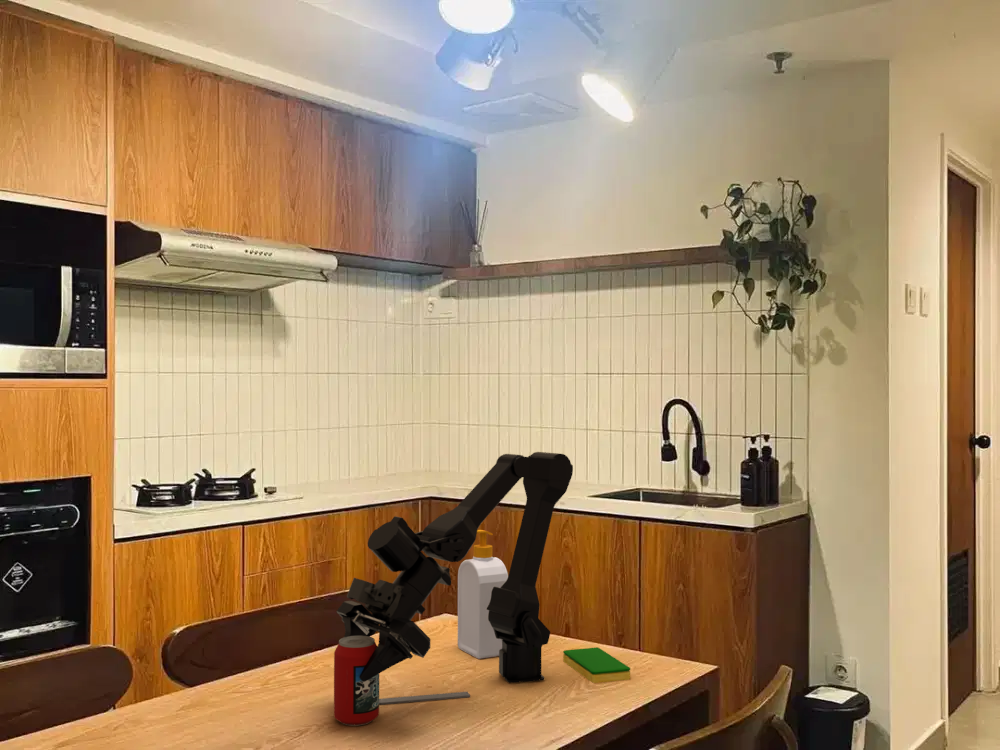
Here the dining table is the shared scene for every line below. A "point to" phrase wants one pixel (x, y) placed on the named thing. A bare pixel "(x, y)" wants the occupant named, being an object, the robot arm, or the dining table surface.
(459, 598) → the soap bottle
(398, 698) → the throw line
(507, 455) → the robot arm
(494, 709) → the dining table surface
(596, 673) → the dish sponge
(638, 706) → the dining table surface
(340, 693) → the beverage can
